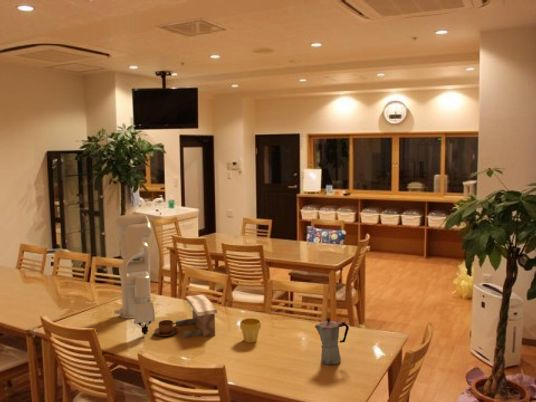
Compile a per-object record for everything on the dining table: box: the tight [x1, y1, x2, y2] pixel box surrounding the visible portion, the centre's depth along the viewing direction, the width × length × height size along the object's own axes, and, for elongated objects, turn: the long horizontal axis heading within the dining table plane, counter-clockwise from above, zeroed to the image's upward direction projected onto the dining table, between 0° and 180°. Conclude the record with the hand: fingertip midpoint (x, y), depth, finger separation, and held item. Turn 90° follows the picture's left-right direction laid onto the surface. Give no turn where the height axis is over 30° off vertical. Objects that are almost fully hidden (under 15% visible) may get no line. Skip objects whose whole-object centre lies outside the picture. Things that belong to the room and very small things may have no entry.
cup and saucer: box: [153, 319, 179, 337], centre depth 264 cm, size 12×12×6 cm
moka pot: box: [314, 318, 350, 366], centre depth 227 cm, size 10×15×20 cm, turn 95°
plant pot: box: [239, 317, 262, 344], centre depth 253 cm, size 10×10×10 cm
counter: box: [175, 294, 218, 338], centre depth 269 cm, size 17×28×14 cm, turn 21°
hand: (144, 333), depth 260 cm, fingers closed
